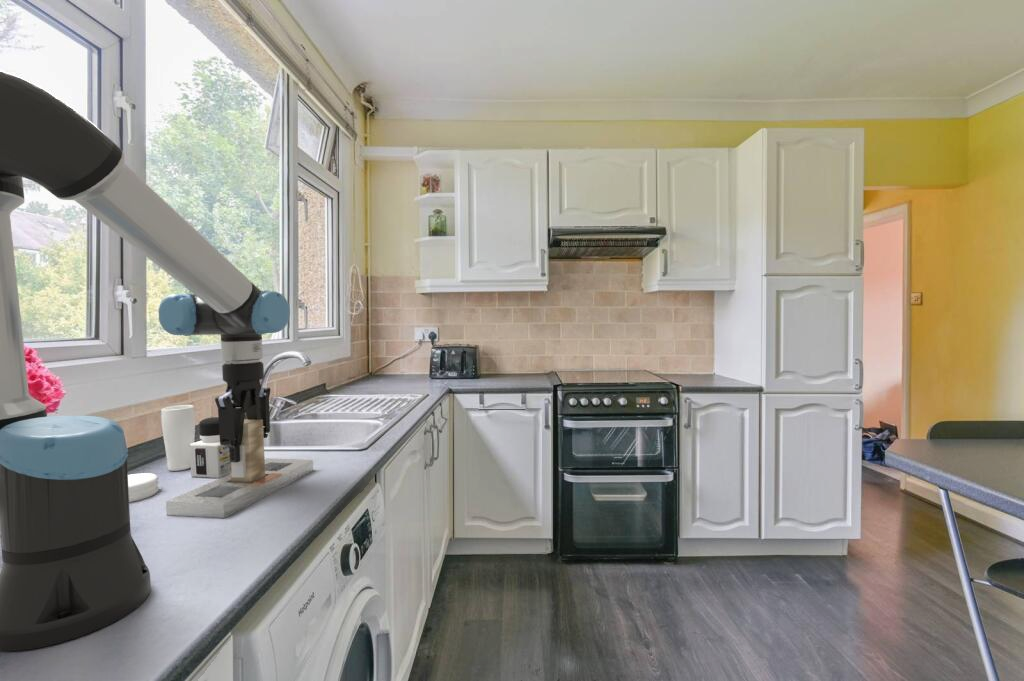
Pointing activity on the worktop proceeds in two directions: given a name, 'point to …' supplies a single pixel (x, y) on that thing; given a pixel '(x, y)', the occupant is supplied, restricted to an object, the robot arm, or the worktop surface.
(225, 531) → the worktop surface
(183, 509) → the slotted peg board
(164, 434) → the drinking glass
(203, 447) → the container
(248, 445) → the beech peg
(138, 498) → the coaster
